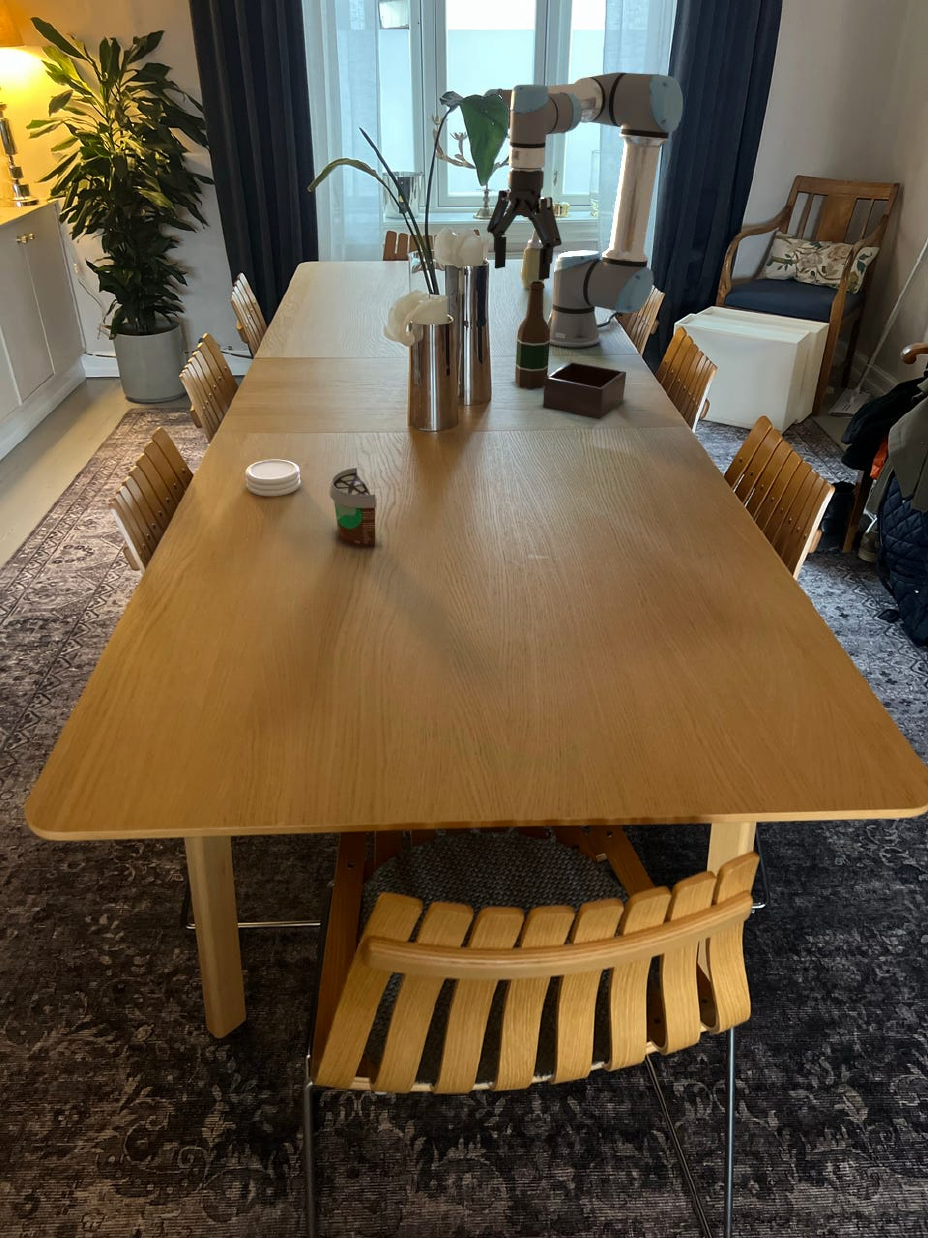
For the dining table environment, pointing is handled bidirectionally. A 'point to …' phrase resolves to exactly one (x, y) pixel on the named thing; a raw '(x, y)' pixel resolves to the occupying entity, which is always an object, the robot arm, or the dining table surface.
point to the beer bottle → (533, 342)
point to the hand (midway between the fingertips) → (521, 273)
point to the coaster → (272, 478)
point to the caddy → (584, 390)
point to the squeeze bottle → (531, 261)
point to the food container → (353, 509)
